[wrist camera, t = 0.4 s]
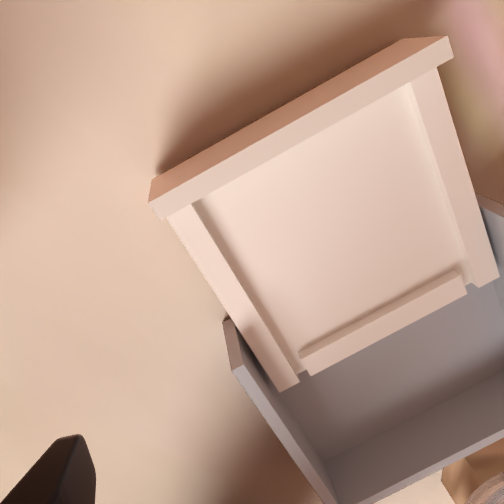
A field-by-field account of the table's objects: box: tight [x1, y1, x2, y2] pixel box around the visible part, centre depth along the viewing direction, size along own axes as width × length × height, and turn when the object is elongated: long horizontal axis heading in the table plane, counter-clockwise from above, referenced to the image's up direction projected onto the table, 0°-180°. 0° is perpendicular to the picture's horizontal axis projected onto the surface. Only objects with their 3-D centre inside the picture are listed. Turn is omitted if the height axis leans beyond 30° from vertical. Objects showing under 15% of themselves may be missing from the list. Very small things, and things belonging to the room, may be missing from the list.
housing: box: [222, 192, 504, 504], centre depth 24 cm, size 12×14×4 cm
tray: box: [148, 35, 500, 393], centre depth 20 cm, size 12×12×4 cm
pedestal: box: [441, 438, 504, 504], centre depth 29 cm, size 4×4×4 cm
